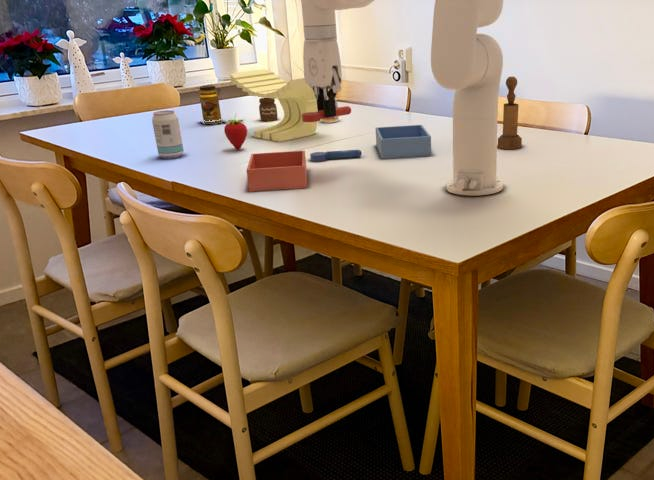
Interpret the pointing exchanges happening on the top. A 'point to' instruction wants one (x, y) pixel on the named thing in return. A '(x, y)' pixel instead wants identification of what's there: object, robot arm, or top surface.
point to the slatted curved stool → (281, 102)
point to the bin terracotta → (277, 171)
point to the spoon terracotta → (320, 114)
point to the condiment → (210, 104)
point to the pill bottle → (332, 119)
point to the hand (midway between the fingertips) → (327, 115)
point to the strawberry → (236, 132)
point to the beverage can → (167, 134)
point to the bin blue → (403, 141)
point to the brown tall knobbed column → (510, 119)
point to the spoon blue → (334, 155)
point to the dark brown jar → (267, 109)
